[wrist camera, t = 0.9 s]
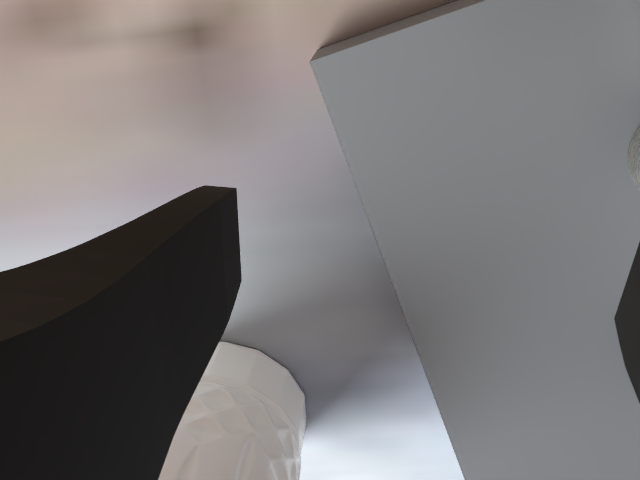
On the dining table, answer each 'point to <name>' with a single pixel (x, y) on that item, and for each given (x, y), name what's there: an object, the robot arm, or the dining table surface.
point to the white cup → (240, 421)
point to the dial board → (505, 218)
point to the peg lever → (634, 156)
